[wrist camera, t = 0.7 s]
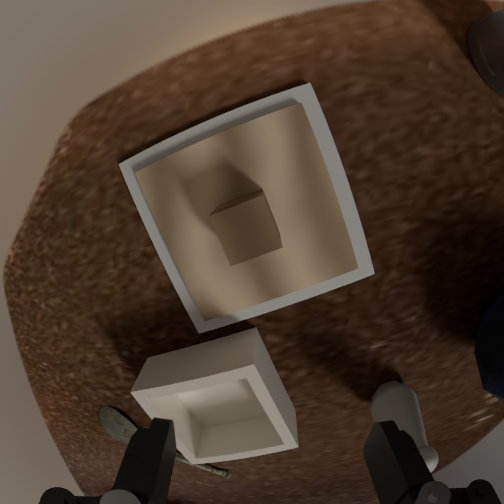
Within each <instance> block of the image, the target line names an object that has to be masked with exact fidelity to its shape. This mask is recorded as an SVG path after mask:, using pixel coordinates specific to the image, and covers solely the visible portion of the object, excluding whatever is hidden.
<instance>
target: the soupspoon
mask: <svg viewBox="0 0 504 504" xmlns="http://www.w3.org/2000/svg"><path fill="white" fill-rule="evenodd" d="M98 415H99V419H100V422H101V424H102V426H103V428H104V429H105V430H106V432H107V433H108V434H109V435H110V436H112V437H113V438H114V439H116V440H117V441H119V442H122V443H125V444H129V441H130V438H131V436H132V435H133V434H134V433H135V432H136V431H137V430H138V429H137V428H136V427H135V426H134V425H133V424H132V423H131V422H130V421H129V420H128V419H126V418H125V417H124V416H123V415H122V414H120V413H119V412H118V411H117V410H116V409H114V408H111V407H109V406H104V407H102V408H101V409H100V410H99V414H98ZM175 459H176V460H179V461H181V462H184V463H187V464H190V465H192V466H195V467H198V468H201V469H204V470H207V471H211V473H214V472H215V473H216V474H218V475H221V476H225V478H226V479H228V478H229V477H230V475H231V471H230V470H228V471H225V470H219V469H216V470H215V469H214V468H208V467H206V466H203V465H200V464H191V463H190V462H189V461H188V460H187V459H184V458H182V457H179V456H177V455H176V456H175Z"/></svg>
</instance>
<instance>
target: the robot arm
mask: <svg viewBox="0 0 504 504" xmlns="http://www.w3.org/2000/svg"><path fill="white" fill-rule="evenodd" d="M468 46H469V51H470V54H471V57H472V60H473V62H474V64H475V66H476V68H477V70H478V72H479V73H480V75H481V77H482V78H483V79H484V80H485V82H486V83H487V84H488V85H489V86H490V87H491V88H492V89H493V90H495V91H496V92H497V93H499V94H501V95H503V96H504V9H501V10H499V11H497V12H494V13H492V14H490V15H488V16H486V17H484V18H482V19H480V20H477V21H475V22H474V23H473V24H472V25H471V27H470V29H469V32H468ZM363 453H364V459H365V461H366V464H367V467H368V470H369V473H370V475H371V478H372V481H373V484H374V487H375V490H376V493H377V495H378V498H379V501H380V504H501V502H500V500H499V498H498V496H497V494H496V492H495V490H494V489H493V486H492V485H491V484H490V483H489V482H488V481H486V480H482V479H479V480H475V481H473V482H471V483H470V485H469V486H468V487H467V488H448V486H446V485H445V484H444V483H442V482H438V481H435V480H434V479H433V476H432V474H431V472H430V471H429V469H428V467H427V465H426V463H425V461H424V459H423V457H422V455H420V451H419V449H418V448H417V445H416V444H415V442H414V440H413V438H412V437H411V436H410V435H409V434H408V433H407V432H406V431H405V430H399V428H398V426H397V425H396V423H395V421H393V420H388V421H381V422H376V423H375V424H374V425H373V427H372V430H371V432H370V434H369V436H368V438H367V440H366V443H365V445H364V450H363ZM175 456H176V438H175V430H174V422H173V420H170V419H163V418H157V417H154V418H153V420H152V423H151V426H150V429H145V428H139V429H138V430H137V431H136V432H135V433H134V434H133V435H132V436H131V438H130V441H129V444H128V448H127V449H126V452H125V456H124V457H123V460H122V463H121V466H120V469H119V472H118V474H117V477H116V480H115V483H114V485H113V487H112V489H111V490H110V491H109V492H107V493H105V494H104V495H101V496H97V497H85V496H74V495H73V494H72V493H71V492H70V491H68V490H67V489H64V488H60V487H54V488H50V489H48V490H46V491H45V492H44V493H43V495H42V497H41V499H40V502H39V504H166V501H167V496H168V491H169V485H170V481H171V476H172V471H173V466H174V461H175Z"/></svg>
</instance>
